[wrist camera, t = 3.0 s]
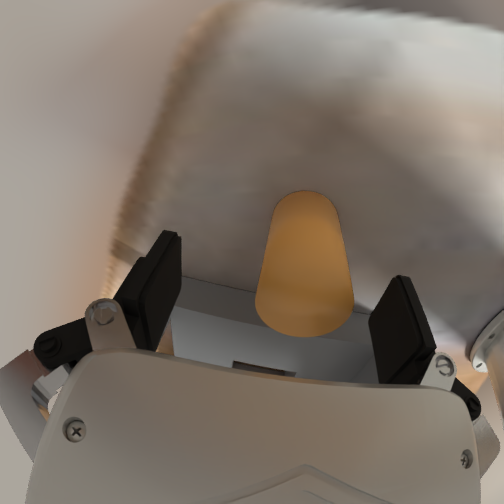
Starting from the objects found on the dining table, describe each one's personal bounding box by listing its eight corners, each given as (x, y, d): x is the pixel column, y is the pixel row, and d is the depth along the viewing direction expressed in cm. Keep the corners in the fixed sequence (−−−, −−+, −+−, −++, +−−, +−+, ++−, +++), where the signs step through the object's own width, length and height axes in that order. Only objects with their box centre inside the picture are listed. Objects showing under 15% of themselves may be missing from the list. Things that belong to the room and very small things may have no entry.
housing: (384, 317, 20) (400, 402, 14) (289, 434, 38) (284, 476, 32) (170, 273, 21) (128, 353, 15) (184, 413, 38) (172, 454, 32)
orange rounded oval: (346, 200, 15) (370, 279, 10) (327, 255, 18) (333, 343, 12) (279, 183, 16) (264, 256, 10) (266, 241, 18) (248, 327, 12)
